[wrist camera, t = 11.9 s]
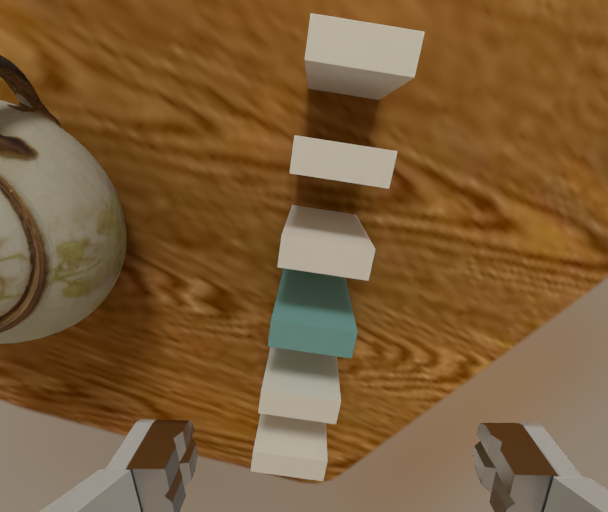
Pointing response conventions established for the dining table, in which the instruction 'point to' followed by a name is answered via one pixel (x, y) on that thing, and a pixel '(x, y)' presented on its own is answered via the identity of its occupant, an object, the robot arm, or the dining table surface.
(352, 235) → the domino
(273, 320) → the teal rectangular block
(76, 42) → the dining table surface
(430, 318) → the dining table surface
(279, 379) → the domino
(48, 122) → the sugar bowl
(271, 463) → the domino
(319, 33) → the domino
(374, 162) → the domino
